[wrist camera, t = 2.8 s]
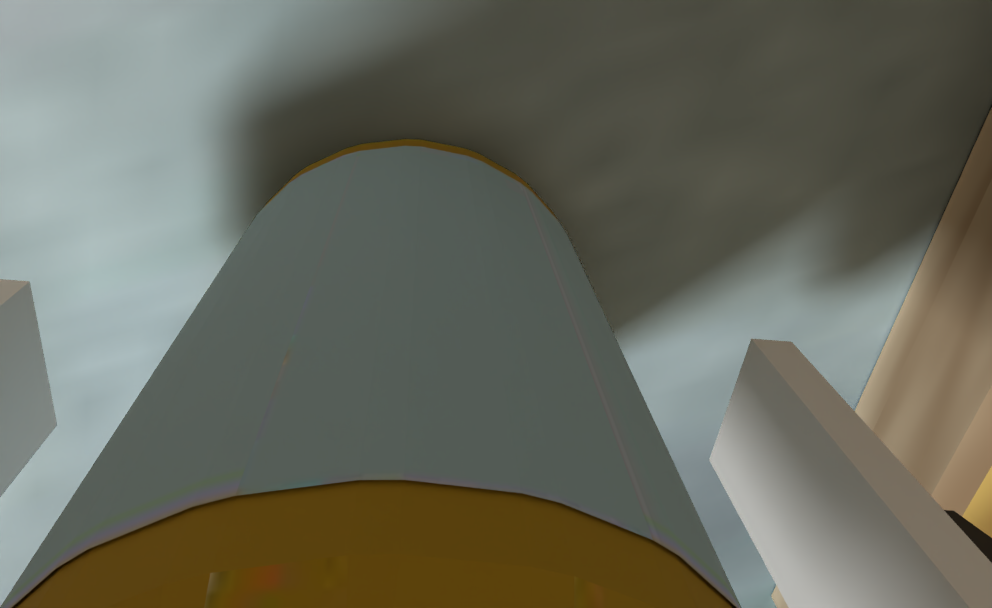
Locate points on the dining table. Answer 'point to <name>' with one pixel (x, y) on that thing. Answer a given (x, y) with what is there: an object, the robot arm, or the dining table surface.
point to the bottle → (387, 420)
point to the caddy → (944, 357)
